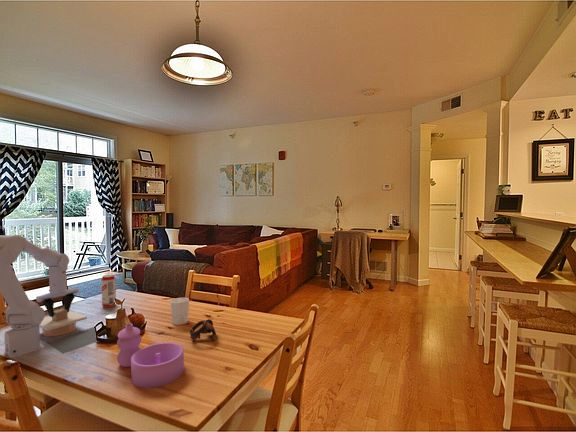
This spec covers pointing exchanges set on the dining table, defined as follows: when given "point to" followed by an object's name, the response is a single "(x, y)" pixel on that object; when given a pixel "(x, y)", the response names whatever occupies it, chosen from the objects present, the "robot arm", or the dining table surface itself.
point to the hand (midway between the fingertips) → (59, 314)
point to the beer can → (108, 291)
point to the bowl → (60, 330)
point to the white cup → (179, 310)
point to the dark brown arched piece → (203, 329)
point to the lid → (61, 319)
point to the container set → (149, 359)
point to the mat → (74, 340)
